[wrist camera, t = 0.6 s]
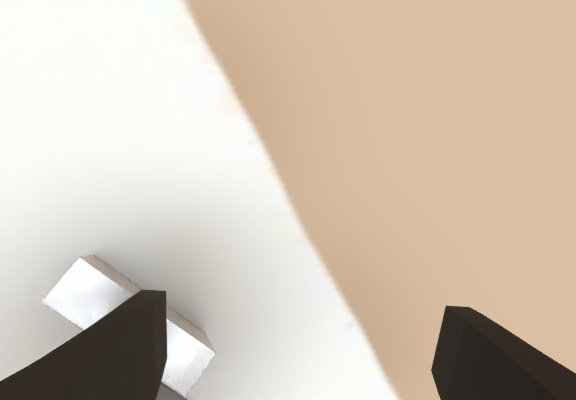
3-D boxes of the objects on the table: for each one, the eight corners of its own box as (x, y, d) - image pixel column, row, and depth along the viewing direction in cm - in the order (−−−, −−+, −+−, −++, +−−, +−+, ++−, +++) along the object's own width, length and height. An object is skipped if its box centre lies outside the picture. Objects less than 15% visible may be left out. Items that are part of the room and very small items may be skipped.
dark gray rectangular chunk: (179, 367, 30) (185, 396, 24) (63, 289, 28) (41, 301, 22) (204, 332, 31) (215, 353, 25) (93, 254, 29) (79, 257, 23)
